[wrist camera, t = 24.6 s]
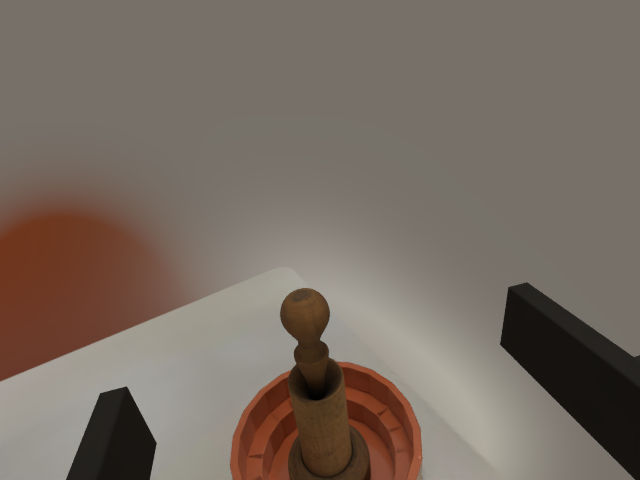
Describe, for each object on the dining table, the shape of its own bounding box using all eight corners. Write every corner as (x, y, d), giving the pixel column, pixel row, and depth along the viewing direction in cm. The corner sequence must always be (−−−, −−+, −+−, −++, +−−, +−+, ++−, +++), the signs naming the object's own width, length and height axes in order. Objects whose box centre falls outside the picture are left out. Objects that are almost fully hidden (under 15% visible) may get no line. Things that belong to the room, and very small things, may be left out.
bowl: (454, 474, 29) (459, 426, 26) (332, 659, 21) (321, 617, 18) (331, 381, 39) (326, 339, 36) (215, 482, 30) (197, 438, 28)
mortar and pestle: (324, 540, 25) (285, 351, 17) (276, 470, 30) (227, 296, 22) (387, 474, 29) (379, 292, 21) (335, 421, 33) (312, 255, 25)
